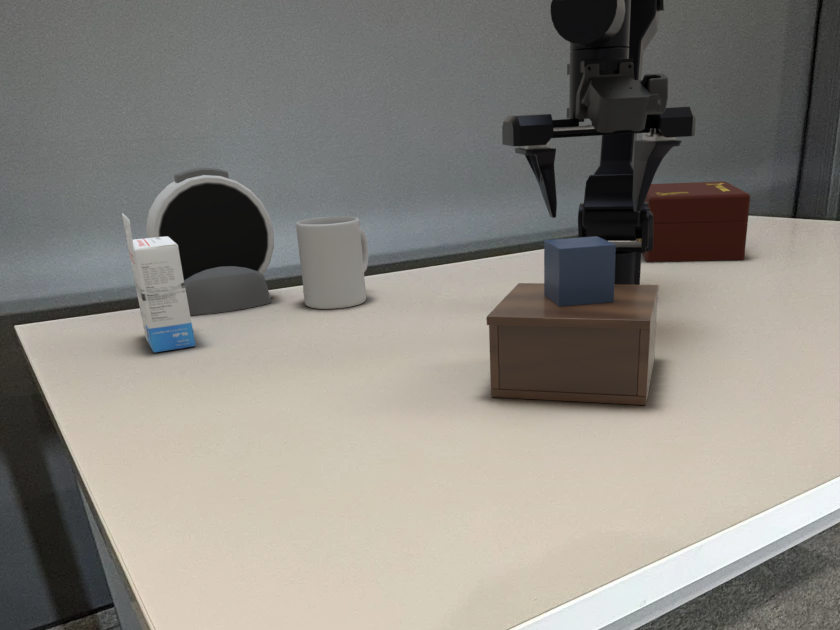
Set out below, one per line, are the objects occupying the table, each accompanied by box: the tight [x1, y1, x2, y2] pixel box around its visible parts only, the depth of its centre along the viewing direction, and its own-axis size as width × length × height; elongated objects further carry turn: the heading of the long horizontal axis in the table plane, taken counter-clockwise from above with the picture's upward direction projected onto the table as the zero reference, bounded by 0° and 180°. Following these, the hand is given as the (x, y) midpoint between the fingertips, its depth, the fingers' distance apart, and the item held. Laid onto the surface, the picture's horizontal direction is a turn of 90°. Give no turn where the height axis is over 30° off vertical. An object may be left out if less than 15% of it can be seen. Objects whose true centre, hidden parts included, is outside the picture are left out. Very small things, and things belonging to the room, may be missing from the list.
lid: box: [486, 282, 659, 330], centre depth 72 cm, size 13×14×1 cm
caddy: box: [488, 294, 659, 406], centre depth 74 cm, size 13×14×7 cm
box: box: [636, 180, 751, 263], centre depth 133 cm, size 21×16×10 cm
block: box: [543, 236, 616, 307], centre depth 71 cm, size 5×5×5 cm
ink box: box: [121, 212, 196, 353], centre depth 91 cm, size 8×5×15 cm, turn 26°
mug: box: [295, 215, 369, 310], centre depth 109 cm, size 12×8×11 cm
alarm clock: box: [145, 166, 275, 316], centre depth 108 cm, size 16×10×18 cm, turn 117°
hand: (595, 214), depth 84 cm, fingers open, 9 cm apart
